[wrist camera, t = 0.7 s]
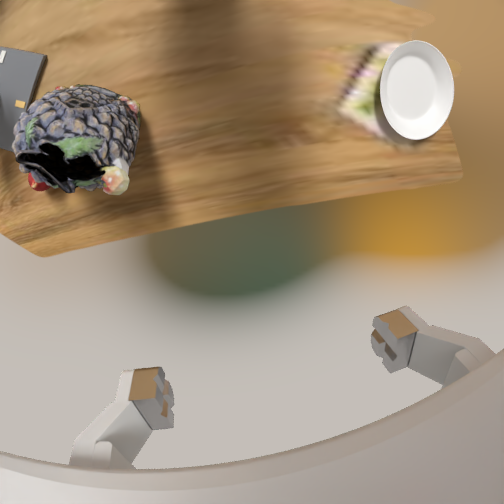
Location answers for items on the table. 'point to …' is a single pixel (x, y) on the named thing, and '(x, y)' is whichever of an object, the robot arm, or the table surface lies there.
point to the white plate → (416, 90)
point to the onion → (37, 184)
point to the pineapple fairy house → (79, 139)
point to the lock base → (16, 88)
